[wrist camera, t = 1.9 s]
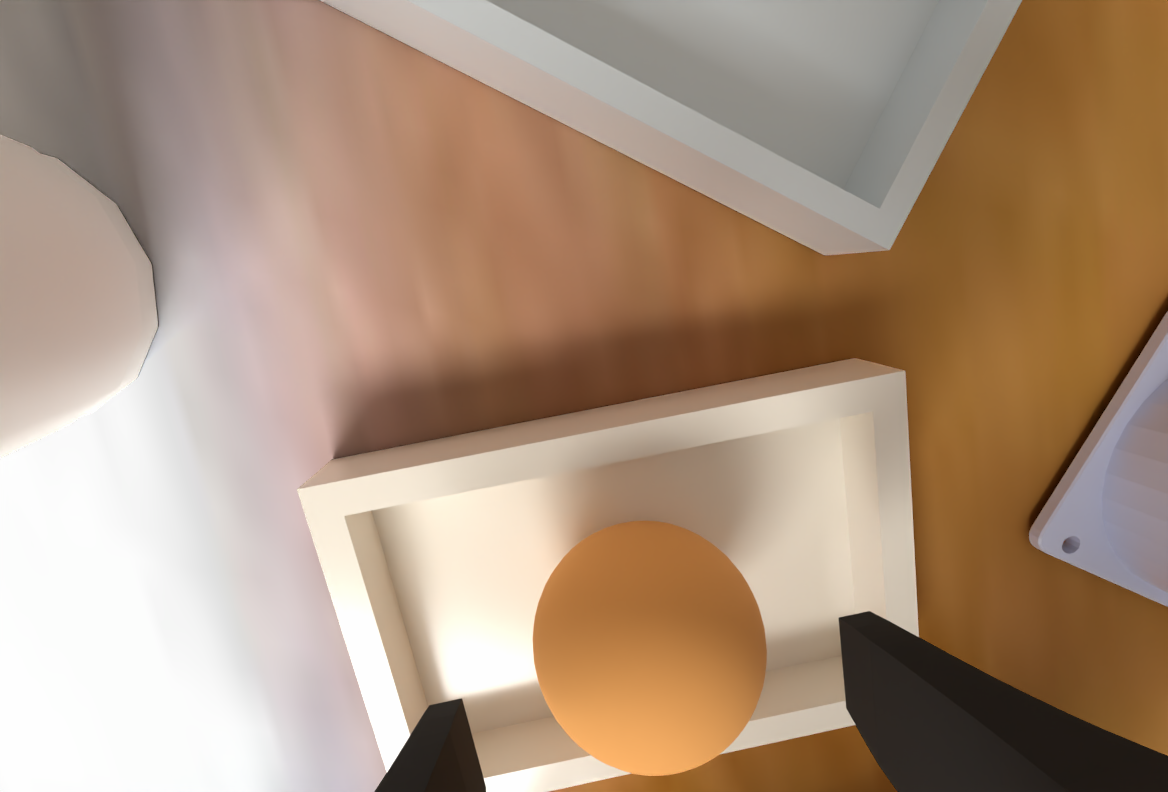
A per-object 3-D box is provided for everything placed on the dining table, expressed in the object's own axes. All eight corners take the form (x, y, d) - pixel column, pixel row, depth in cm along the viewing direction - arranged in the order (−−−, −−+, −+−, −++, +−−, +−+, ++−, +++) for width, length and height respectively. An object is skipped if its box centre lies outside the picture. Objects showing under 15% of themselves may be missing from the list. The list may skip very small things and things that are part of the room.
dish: (855, 357, 14) (905, 370, 12) (876, 658, 16) (922, 710, 14) (331, 459, 14) (296, 489, 12) (420, 755, 16) (402, 822, 14)
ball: (754, 528, 14) (862, 656, 10) (672, 682, 15) (732, 873, 10) (581, 458, 14) (603, 558, 9) (504, 624, 14) (484, 800, 10)
